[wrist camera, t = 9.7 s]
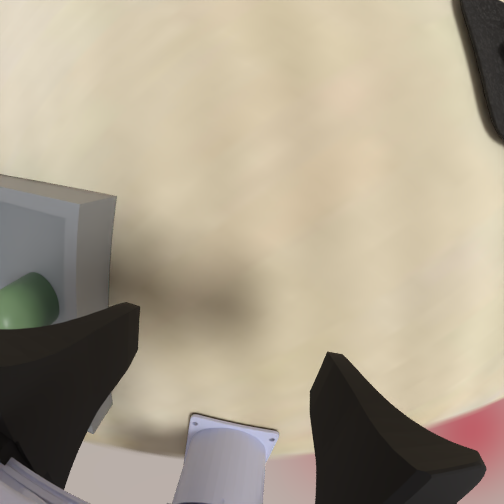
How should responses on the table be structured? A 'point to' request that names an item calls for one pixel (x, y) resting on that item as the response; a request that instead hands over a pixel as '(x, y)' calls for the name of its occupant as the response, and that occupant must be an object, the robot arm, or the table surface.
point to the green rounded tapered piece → (28, 303)
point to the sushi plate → (488, 52)
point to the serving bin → (59, 245)
